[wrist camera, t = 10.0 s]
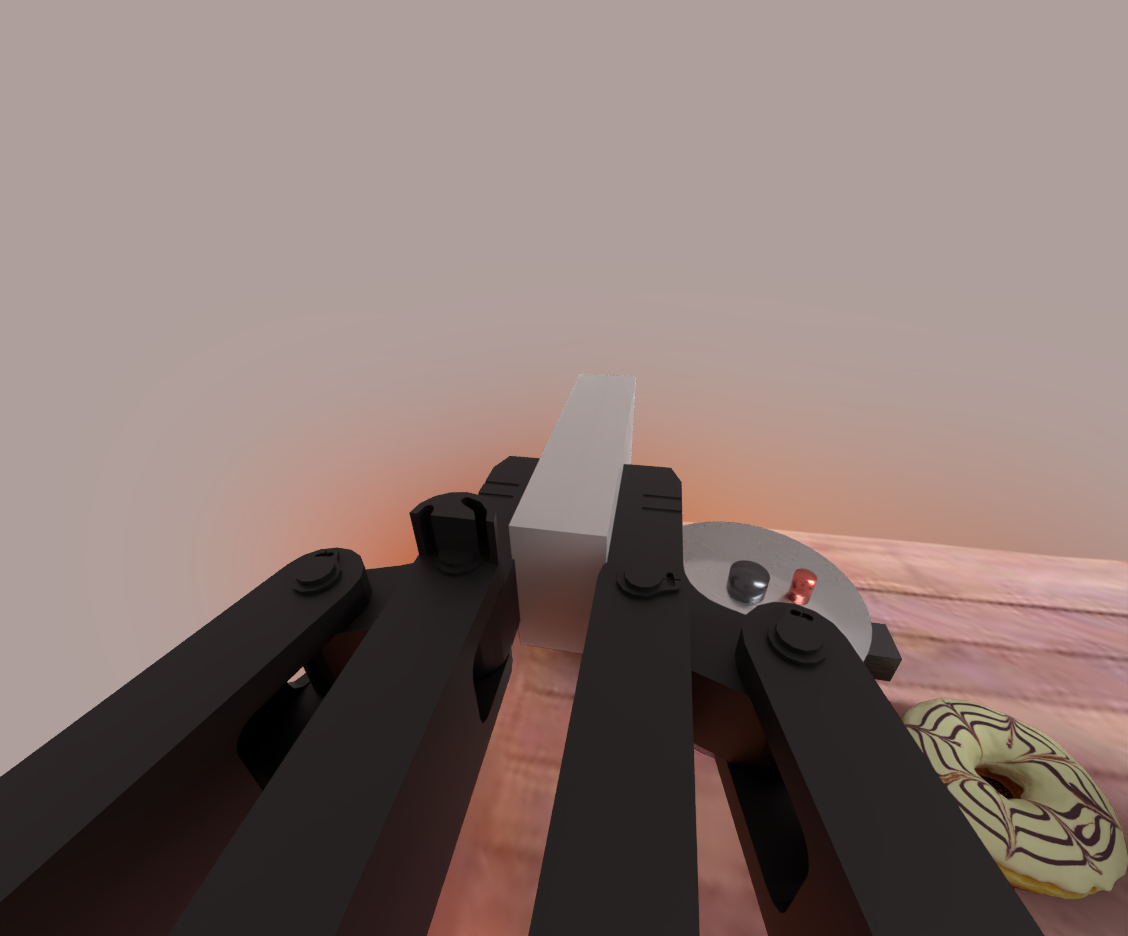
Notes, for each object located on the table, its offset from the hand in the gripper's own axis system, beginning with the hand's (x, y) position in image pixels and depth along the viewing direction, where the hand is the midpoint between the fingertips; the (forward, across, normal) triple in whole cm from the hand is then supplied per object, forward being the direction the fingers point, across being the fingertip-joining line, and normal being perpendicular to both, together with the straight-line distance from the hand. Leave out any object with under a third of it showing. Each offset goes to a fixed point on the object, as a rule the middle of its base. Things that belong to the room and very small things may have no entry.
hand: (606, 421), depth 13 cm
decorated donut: (+7, +24, -28) cm, 38 cm away
